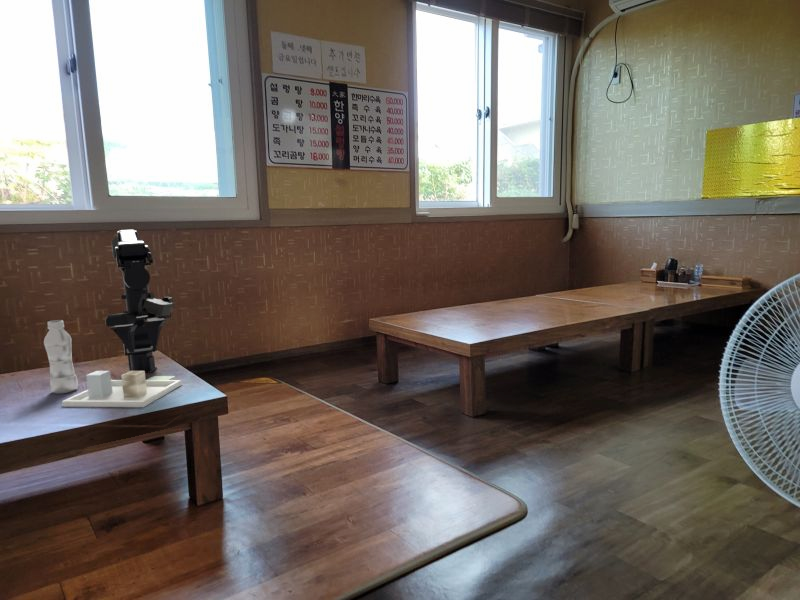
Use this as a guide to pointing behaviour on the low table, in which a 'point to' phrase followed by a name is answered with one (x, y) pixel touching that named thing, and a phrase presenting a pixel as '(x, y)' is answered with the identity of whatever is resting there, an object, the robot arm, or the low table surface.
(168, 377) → the mat
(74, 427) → the low table surface
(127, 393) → the labelled block
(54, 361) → the plastic bottle
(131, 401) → the tray
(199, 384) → the low table surface
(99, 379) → the plain block
